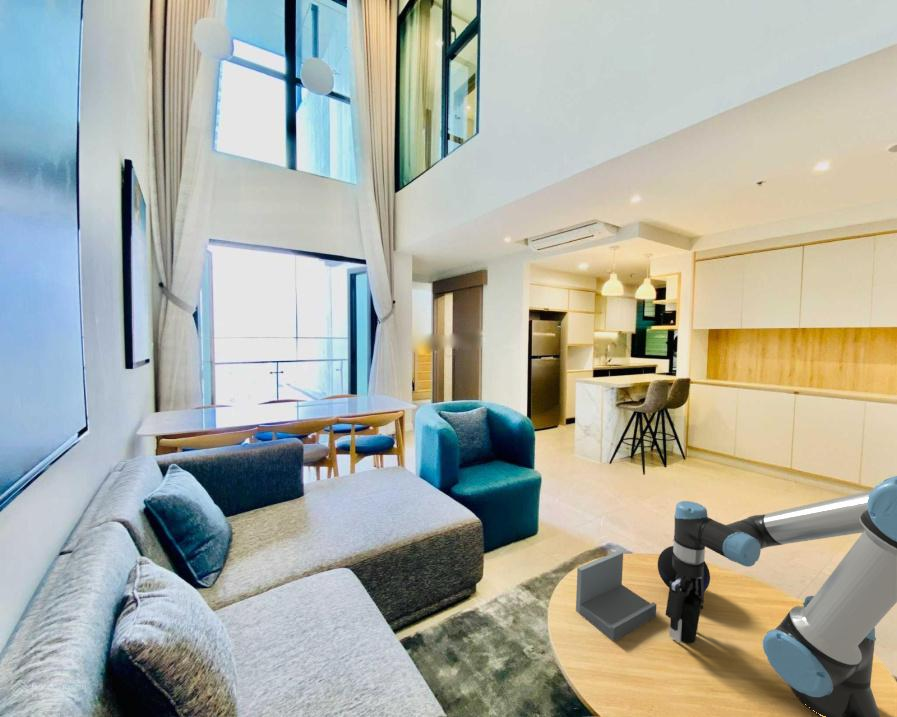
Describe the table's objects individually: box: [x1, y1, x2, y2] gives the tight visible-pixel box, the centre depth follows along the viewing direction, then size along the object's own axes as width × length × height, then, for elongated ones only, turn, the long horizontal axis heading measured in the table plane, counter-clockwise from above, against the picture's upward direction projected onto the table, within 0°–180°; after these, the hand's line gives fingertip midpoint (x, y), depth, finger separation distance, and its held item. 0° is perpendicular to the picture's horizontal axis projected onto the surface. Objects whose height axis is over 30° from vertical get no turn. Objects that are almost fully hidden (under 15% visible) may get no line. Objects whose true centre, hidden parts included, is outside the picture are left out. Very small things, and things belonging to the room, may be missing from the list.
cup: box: [680, 589, 703, 644], centre depth 108 cm, size 8×8×12 cm
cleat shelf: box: [575, 550, 657, 642], centre depth 116 cm, size 14×20×14 cm
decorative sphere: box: [657, 545, 711, 592], centre depth 127 cm, size 15×15×15 cm
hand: (683, 633), depth 109 cm, fingers open, 8 cm apart
